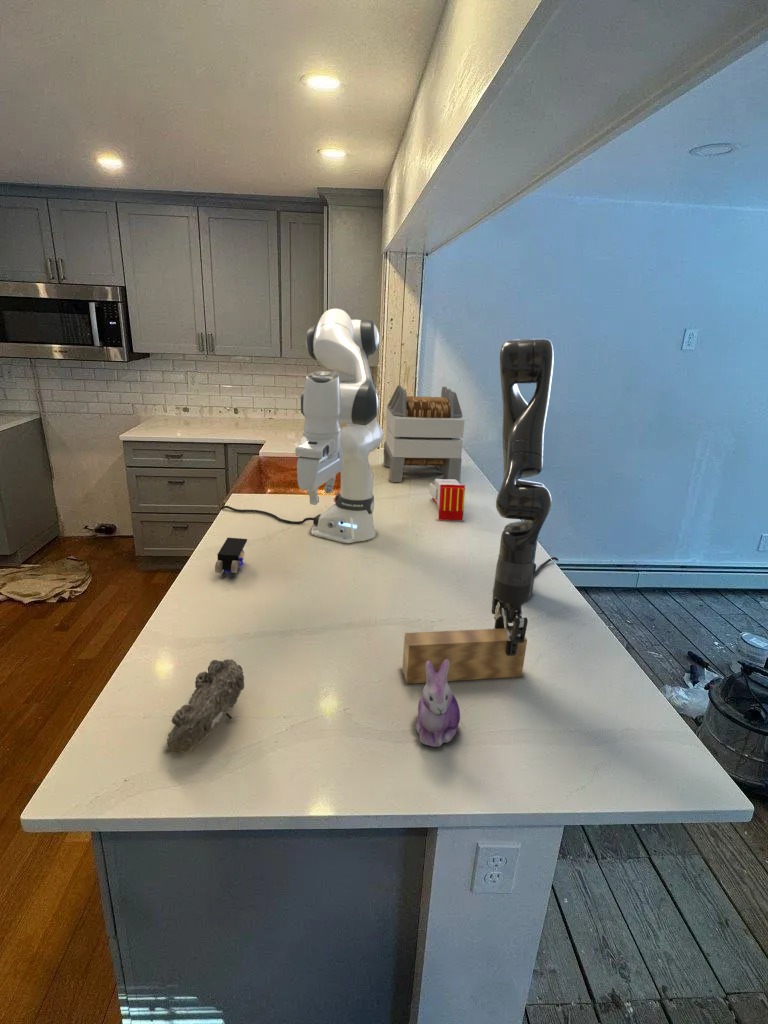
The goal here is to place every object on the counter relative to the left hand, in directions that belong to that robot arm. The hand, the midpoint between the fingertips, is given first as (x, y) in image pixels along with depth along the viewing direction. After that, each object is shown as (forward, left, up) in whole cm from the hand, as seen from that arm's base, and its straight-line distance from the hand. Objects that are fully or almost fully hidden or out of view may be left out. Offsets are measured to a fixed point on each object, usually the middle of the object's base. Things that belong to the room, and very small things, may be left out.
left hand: (321, 498), depth 139 cm
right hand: (+48, -12, -24) cm, 55 cm away
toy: (+17, +91, -30) cm, 97 cm away
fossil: (-4, -46, -30) cm, 55 cm away
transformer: (-4, +138, -30) cm, 141 cm away
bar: (+40, -16, -30) cm, 52 cm away
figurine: (+38, -36, -30) cm, 60 cm away
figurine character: (-33, +12, -30) cm, 46 cm away
